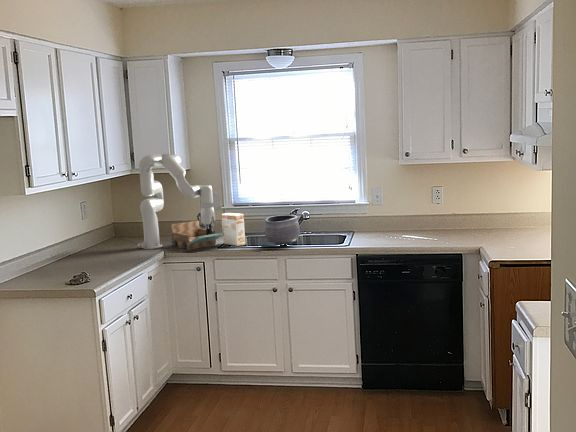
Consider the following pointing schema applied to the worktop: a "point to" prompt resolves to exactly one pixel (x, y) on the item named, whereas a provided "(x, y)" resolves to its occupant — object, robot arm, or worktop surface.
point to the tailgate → (206, 238)
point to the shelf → (189, 235)
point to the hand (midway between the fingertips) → (209, 234)
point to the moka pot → (200, 221)
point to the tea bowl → (282, 229)
